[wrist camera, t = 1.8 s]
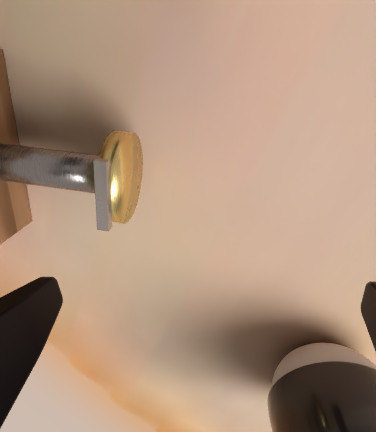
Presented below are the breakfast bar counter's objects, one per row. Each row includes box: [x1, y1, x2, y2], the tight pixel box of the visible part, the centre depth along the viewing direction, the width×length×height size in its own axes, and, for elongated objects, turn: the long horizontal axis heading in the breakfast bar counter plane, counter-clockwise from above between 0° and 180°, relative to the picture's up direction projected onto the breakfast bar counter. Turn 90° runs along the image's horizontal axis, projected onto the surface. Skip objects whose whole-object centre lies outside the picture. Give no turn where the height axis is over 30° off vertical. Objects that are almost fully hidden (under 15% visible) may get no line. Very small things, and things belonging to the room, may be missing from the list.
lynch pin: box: [0, 131, 142, 231], centre depth 16 cm, size 10×5×6 cm, turn 84°
